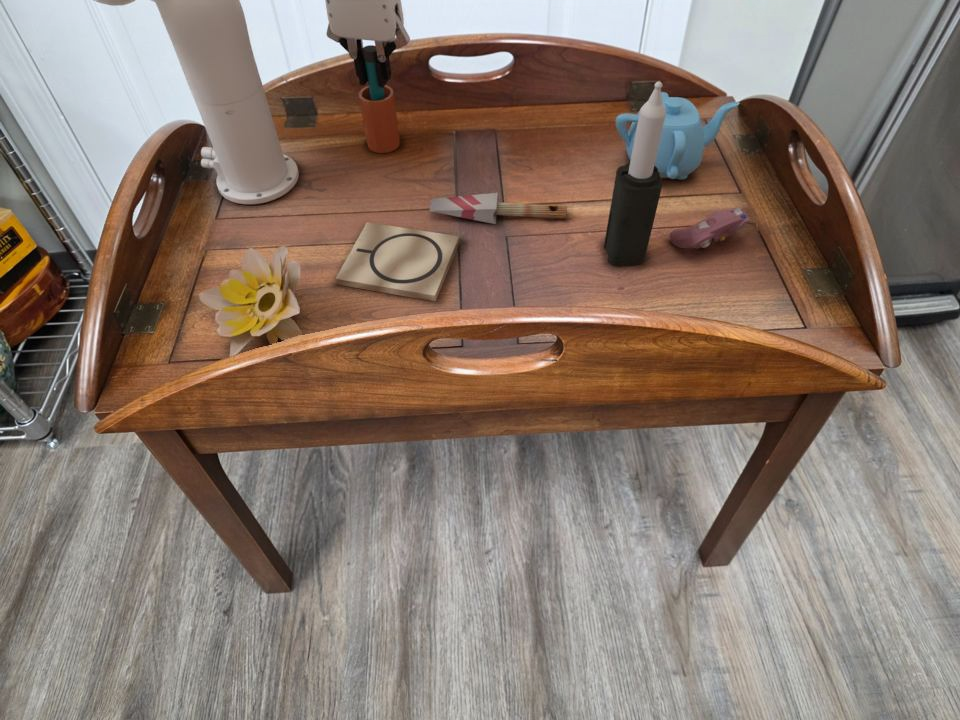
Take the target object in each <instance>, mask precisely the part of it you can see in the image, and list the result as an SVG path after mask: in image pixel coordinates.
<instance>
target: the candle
mask: <svg viewBox="0 0 960 720" xmlns="http://www.w3.org/2000/svg"><path fill="white" fill-rule="evenodd" d="M662 88H663V83H662V82H661V81H660V80H658V81H656V82H655V83H654V89H653V91H652V93H651V94H650V96H649V97H648V100H647V101H646V102H644V104H643V105H642V106H641V107H640V110H639V111H640V114H639V119H638V124H637V129H636V135H635V140H634V145H633V151H632V156H631V161H629V162H627V163H626V164H624V165H620V166H618V167H617V169H616V171H615V172H616V173H615V179H614V183H613V184H614V185H613V189H612V190H613V191H612V196H611V202H610V207H609V214H608V220H607V225H606V231H605V238H604V243H603V249H604V250H605V252H606V256H607V262H608V264H609V265H611V266H613V267H626V266H639V265H642V264H644V263H645V260H646V256H647V251H648V247H649V243H650V239H651V235H652V230H653V227H654V222H655V219H656V215H657V210H658V206H659V201H660V197H661V193H662V188H663V185H664V183H663V180H662V178H661V177H660V175H659V174H660V173H659V172H658V168H657V167H656V166H655V160H656V156H657V151H658V147H659V142H660V138H661V133H662V129H663V124H664V120H665V115H666V109H665V107H664V105H663V103H662V95H661V92H662Z"/></svg>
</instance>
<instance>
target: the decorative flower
mask: <svg viewBox="0 0 960 720" xmlns="http://www.w3.org/2000/svg"><path fill="white" fill-rule="evenodd" d="M288 254H289V250H288V247H287V246H285V245H281V246H278V247H277V249H276V250H275V251H274V252H273V254H272V255H271V259H270V261H269V263H268V260H267V259H266V258H265V257H264V256H263V255H262V254H261V253H259V251H257V250H256V249H255V248H253V247H249V248H248V249H247V250H246V252H245V253H244V254H243V255H242V258H241V263H240V265H241V269H237V268H236V269H234V268H232V269H231V270H230V271H229V274H228V278H225V279H224V280H223V281H222V282H220V284H219V286H216V287H213V288H210V289H206V290H204V291H201V292H199V293H198V297H199V301H200V302H202V303H203V305H205V306H207V307H209V308H211V309H213V310H216V311H217V312H216V313H215V318H214V322H215V323H216V324H217V325H218V327H217V329H216V332H217V334H218V336H219V337H225V338H226V337H230V345H229V346H230V347H229V358H230V357H231V356H233V355H236V354H237V355H239V353H241V352H242V351H243V350H244V349H245V348H246V347H247V346H248V345H249V344H250V343H251V341H252V340H253V339H254V338H255V337H260V336H262V335H264V334H265V335H266V338H267V341H268V343H269V344H270V345H271V344H272V343H275V342H277V343H278V340H279V339H280V340H281V341H284V340H285V339H288V338H292V337H295V336H298V335H302V334H303V332H302V330H301V328H300V327H299V326H298V324H297V323H296V321H295V320H293V318H291V317H293V316H296V315H298V314H300V312H301V309H300V305H299V302H298V299H297V297H298V296H297V295H295V294H294V293H296V290H297V289H298V286H299V284H300V279H301V265H300V262H298V261H296V260H295V259H293V260H290V261H289V262H288V263H286V261H287V257H288ZM237 355H236V356H237Z"/></svg>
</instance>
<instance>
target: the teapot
mask: <svg viewBox="0 0 960 720" xmlns="http://www.w3.org/2000/svg"><path fill="white" fill-rule="evenodd" d="M661 95H662V103H663V105H664V107H665V109H666V115H665V120H664V124H663V129H662V133H661V138H660V142H659V147H658V151H657V156H656V160H655V166H656V167H657V168H658V172H659V173H660V174H659V175H660V177H661V179H672V180H675V179H677V180H685V179H688V176H689V175H690V174H691V173H693V172H694V171H695V170H696V169H697V168H699V166H700V165H701V163H702V159H703V156H704V148H706V147H707V146H709V145H711V144H712V143H713V141H715V139H716V138H717V136H718V135H719V132H720V131H721V127H722V124H723V123H724V119H725V118H726V116H727V115H728V113H729V112H731V111H732V110H733V109H735V108H736V107H738V106H739V105H740V101H730V102H727V103H725V104H722V106H720V107H719V108H718V110H716V112H715V114H714V115H713V117H711V118H712V119H710V121H708V123H707V124H705V125H703V124H702V120H701V116H700V113H699V110H698V108H697V107H696V106H695V105H694V103H692V102H691V101H690V100H689V99H686V98H684V97H678V96H669V94H668V93H667V92H665V91H661ZM639 114H640V110H638V112H637V113H625V112H624V113H620V114H618V115H617V116H616V118H615V128H616V130H617V132H618V134H619V135H620V137H621V139H622V140H623V141H624V143H625V150H626V155H627V157H628V158H629V160H630V161H631V156H632V151H633V145H634V140H635V135H636V129H637V124H638V119H639ZM627 123H631V124H630V126H629V129H628V130H627ZM630 161H629V162H630Z"/></svg>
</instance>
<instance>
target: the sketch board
mask: <svg viewBox="0 0 960 720" xmlns="http://www.w3.org/2000/svg"><path fill="white" fill-rule="evenodd" d="M460 243H461V242H460V236H459V235H453V234H447V233H441V232H434V231H428V230H422V229H421V230H420V229H414V228H408V227H401V226H394V225H388V224H384V223H383V224H381V223H375V222H371V221H370V222H369V221H367V222H366V223H365V225H364V226H363V228H362V229H361V232H360V233H359V236H358V237H357V239H356V241H355V243H354V244H353V247H352V248H351V249H350V252H349V253H348V255H347V257H346V259H345V261H344V262H343V264H342V266H341V268H340V269H339V271H338V273H337V275H336V276H335V282H336V285H337V286H343V287H349V288H353V289H354V288H355V289H359V290H366V291H373V292H376V293H377V292H378V293H385V294H389V295H395V296H400V297H401V296H402V297H407V298H412V299H419V300H424V301H429V302H437V299H438V297H439V294H440V293H441V289H442V287H443V284H444V282H445V280H446V277H447V275H448V272H449V270H450V267H451V265H452V263H453V260H454V257H455V255H456V252H457V250H458V247H459V245H460Z"/></svg>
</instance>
